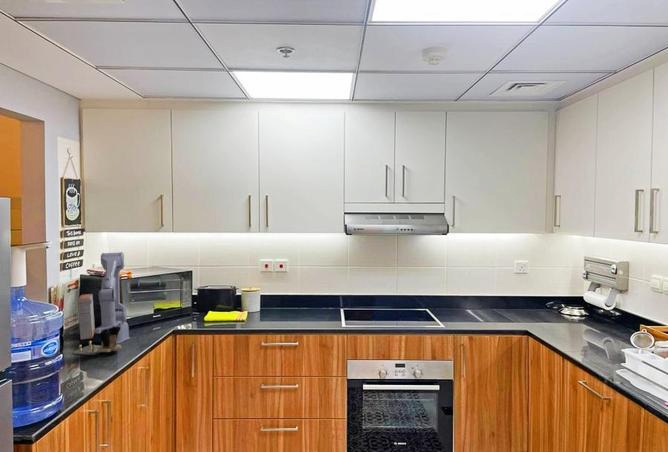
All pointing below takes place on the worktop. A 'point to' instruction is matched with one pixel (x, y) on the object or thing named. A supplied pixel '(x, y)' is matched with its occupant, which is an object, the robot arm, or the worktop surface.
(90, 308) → the cracker box
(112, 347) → the brown boxy piece
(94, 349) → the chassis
